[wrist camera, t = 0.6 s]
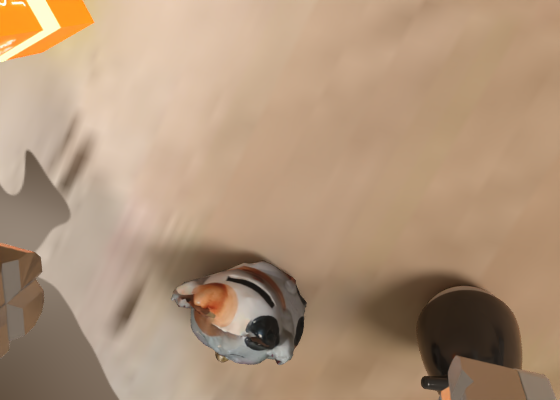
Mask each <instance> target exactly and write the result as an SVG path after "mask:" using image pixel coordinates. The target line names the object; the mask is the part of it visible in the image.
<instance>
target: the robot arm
mask: <svg viewBox="0 0 560 400" xmlns="http://www.w3.org/2000/svg"><path fill="white" fill-rule="evenodd" d="M41 272H42V265H41V257H40V256H39V255H38V254H36V253H35V252H33V251H29V250H25V249H21V248H18V247H14V246H10V245H7V244H3V243H0V359H1V358H2V357H3V355H5V354H6V353H7V352H8V351H9V348H10V341H11V340H14V339H16V338H19V337H22V336H25V335H26V334H27V333H28V332H29V331H30V330H31V329H32V328H33V327H34V326H35V324H36V322H37V320H38V318H39V316H40V315H41V313H42V308H43V303H44V291H43V289H42V287H41V286H40V284H39V283H38V282H37V280H36V278H37V277H38V276H39V275H40V274H41ZM448 379H449V387H448V388H446V389H444V390H443V391H441V393H440V396H439V400H557V399H556V397H555V394H554V392H553V389H552V387H551V384H550V381H549V379H548V378H547V377H546V376H545V375H544V374H539V373H534V372H530V371H525V370H520V369H516V368H514V369H511V368H507V367H503V366H499V365H495V364H490V363H486V362H482V361H478V360H474V359H469V358H465V357H461V356H457V355H456V356H455V357H454V359H453V360H452V362H451V365H450V368H449V371H448Z"/></svg>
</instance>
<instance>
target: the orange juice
mask: <svg viewBox="0 0 560 400" xmlns="http://www.w3.org/2000/svg"><path fill="white" fill-rule="evenodd" d="M92 23H94V21H93V19H92V17H91V16H90V14H89V12H88V10H87V8H86V6H85V4H84V3H83V1H82V0H0V62H2V61H5V60H9V59H14V58H18V57H23V56H28V55H32V54H37V53H42V52H44V51H45V50H47V49H49V48H51V47H52V46H54V45H56V44H58V43H59V42H61V41H63V40H65V39H66V38H68V37H70V36H71V35H73V34H75V33H77V32H78V31H80V30H82V29H84V28H85V27H87V26H89V25H91V24H92Z"/></svg>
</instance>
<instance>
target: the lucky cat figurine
mask: <svg viewBox="0 0 560 400" xmlns="http://www.w3.org/2000/svg"><path fill="white" fill-rule="evenodd" d="M171 300H172V301H173V300H175V302H176V303H177V305H178V306H179V307H185V308H190V307H191V328H192V331H193V332H194V334H195V335H196V336H197V338H198V339H199V340H200V341H201V342H202V343H203V344H205V345H206V346H208V347H210V348H212V349H213V350H215V355H216V358H217V360H218V361H220V362H226V361H228V360H232V361H234V362H235V363H239V364H248V365H249V364H258V363H261V362H262V361H264V360H265V359H275V360H276V363H277V364H278V365H282V364H284V363H286V362H287V361H288V360H291V358H292V356H293V351H294V349H295V347H296V346H297V345H298V343H299V341H300V339H301V336H302V333H303V328H304V312H305V307H306V304H307V302H306V301H305V300H304V299H303V298H302V297H301V295H300V293H299V291H298V288H297V286H296V280H295V279H294V278H293V277H291V276H289V275H287V274H286V273H284V272H282V271H281V270H279V269H278V268H276V267H275V266H273V265H271V264H269V263H266V262H265V261H260V262H256V263H251V264H248V263H242V264H240V265H237V266H235V267H233V268H230V269H228V270H225V271H222V272H218V273H215V274H212V275H209V276H206V277H202V278H199V279H196V280H192V281H188V282H184V283H183V284H181V285H180V286H178V287H177V288H176V289H175V290H174V291H173V295H172V298H171Z"/></svg>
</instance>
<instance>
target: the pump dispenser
mask: <svg viewBox="0 0 560 400" xmlns="http://www.w3.org/2000/svg"><path fill="white" fill-rule="evenodd" d="M416 332H417V342H418V347H419V351H420V354H421V358H422V361H423V364H424V366H425V369H426V371H427V373H428V376H424V377H423V378H422V379H421V386H422V387H423V388H424V389H429V390H435V391H437V392H438V394H439V395H440V393H441V391H443V390H444V389H446V388H448V387H449V379H448V371H449V368H450V365H451V362H452V360H453V359H454V357H455V356H456V355H457V356H461V357H465V358H469V359H474V360H478V361H482V362H486V363H490V364H495V365H499V366H503V367H507V368H511V369H514V368H516V369H520V370H522V343H521V335H520V330H519V326H518V323H517V320H516V318H515V316H514V314H513V312H512V311H511V310H510V308H509V307H508V306H507V305H506V304H505V303H504V302H502V301H501V300H500V299H498V298H497V297H495V296H494V295H492V294H491V293H489V292H487V291H485V290H483V289H480V288H476V287H471V286H457V287H452V288H449V289H446V290H444V291H442V292H440V293H438V294H437V295H436V296H434V297H433V298H432V299H431V300H430V301H429V303H428V304H427V305H426V307H425V308H424V309H423V310H422V312H421V314H420V316H419V318H418V321H417V329H416Z"/></svg>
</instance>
